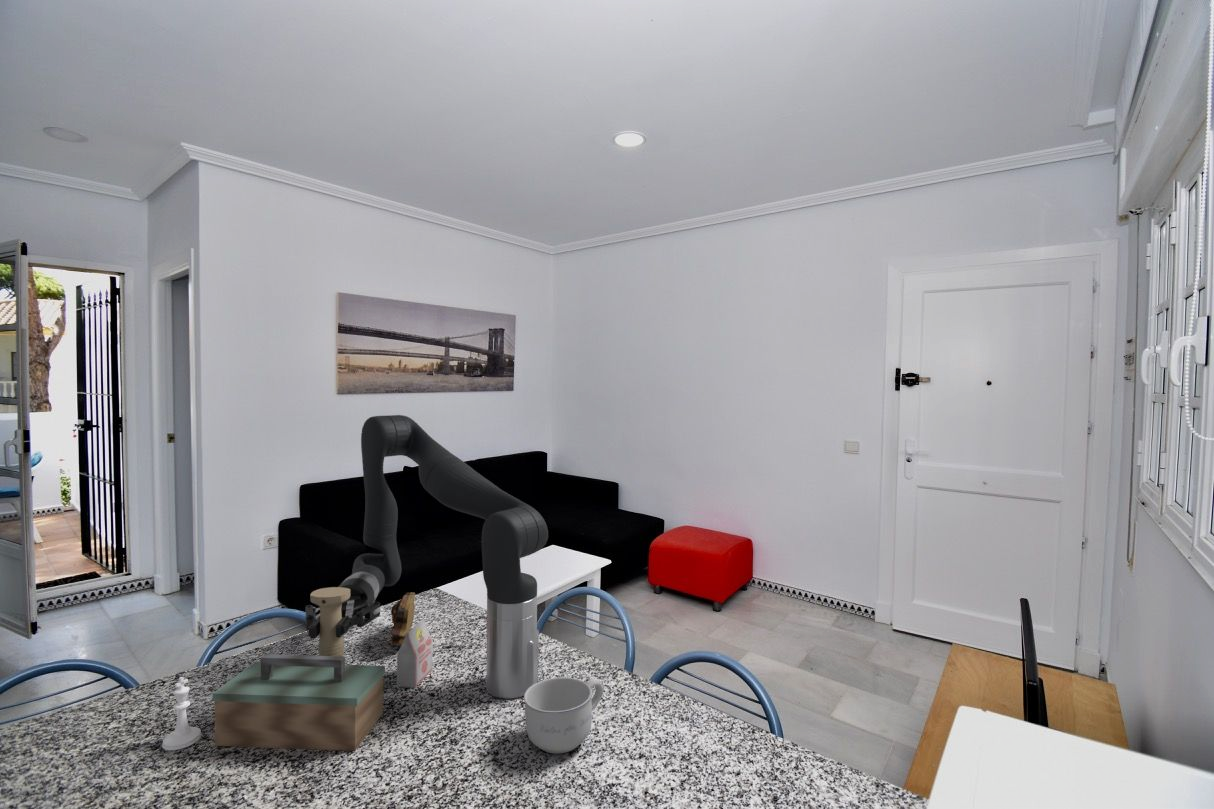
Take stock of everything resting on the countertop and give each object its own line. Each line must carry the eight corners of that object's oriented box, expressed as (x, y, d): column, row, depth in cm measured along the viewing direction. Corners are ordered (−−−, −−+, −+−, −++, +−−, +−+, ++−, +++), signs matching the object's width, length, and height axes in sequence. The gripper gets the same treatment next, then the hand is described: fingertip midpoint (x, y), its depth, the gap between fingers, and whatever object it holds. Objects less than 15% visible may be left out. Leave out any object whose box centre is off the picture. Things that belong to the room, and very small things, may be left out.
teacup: (537, 772, 83) (538, 718, 82) (514, 731, 92) (514, 683, 92) (621, 745, 89) (622, 695, 89) (591, 709, 99) (591, 664, 98)
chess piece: (209, 734, 90) (208, 672, 90) (176, 753, 85) (176, 688, 85) (187, 728, 92) (186, 667, 91) (154, 746, 87) (153, 682, 87)
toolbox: (403, 688, 105) (403, 625, 104) (357, 750, 87) (357, 675, 86) (283, 684, 105) (283, 621, 105) (213, 745, 87) (212, 670, 87)
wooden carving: (395, 626, 131) (395, 584, 131) (415, 624, 132) (416, 582, 132) (387, 660, 115) (387, 611, 115) (411, 657, 117) (411, 609, 116)
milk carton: (397, 685, 106) (397, 632, 105) (414, 668, 112) (415, 618, 112) (415, 687, 105) (415, 634, 105) (432, 669, 112) (432, 619, 111)
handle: (343, 683, 98) (341, 597, 97) (306, 682, 98) (305, 597, 97) (356, 669, 103) (355, 587, 102) (321, 668, 103) (319, 587, 102)
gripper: (317, 579, 113) (280, 613, 96) (391, 575, 115) (368, 608, 98) (318, 616, 113) (281, 657, 96) (392, 612, 115) (369, 651, 98)
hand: (325, 632), depth 97 cm, fingers closed on handle, 3 cm apart
